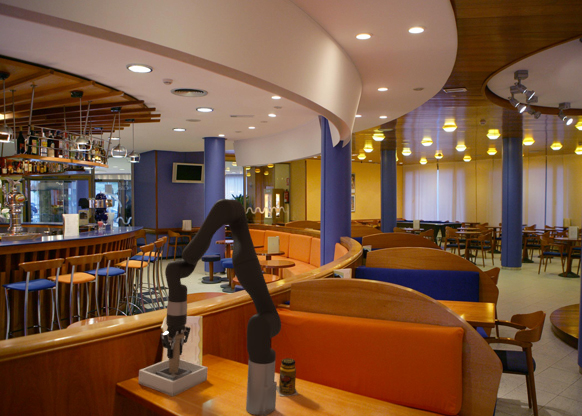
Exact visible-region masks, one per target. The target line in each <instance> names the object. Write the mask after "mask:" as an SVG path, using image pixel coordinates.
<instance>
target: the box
mask: <svg viewBox="0 0 582 416" xmlns="http://www.w3.org/2000/svg"><path fill="white" fill-rule="evenodd" d="M169 369H170V368H169V358H168V359H165V360H163V361H159V362H157V363H154V364H152V365H149V366H146V367H145V368H141V369H139V370H138V381H137V382H138V384H140V385H141V386H144V387H147V388H150V389H151V390H155V391H157V392H160V393H163V394H165V395H168V396H171V397H175V396H177V395H180V394H181V393H183V392H185V391H187V390H190V389H191V388H193V387H195V386H198V385H199V384H201V383H204V382H206V381H207V380H208V369H209V368H208V366H204V365H201V364H198V363H195V362H192V361H189V360H185V359H182V358H180V362H179V368H178V372H177V373H174V374H172V373H170V372H169Z"/></svg>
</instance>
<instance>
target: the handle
mask: <svg viewBox="0 0 582 416" xmlns="http://www.w3.org/2000/svg"><path fill="white" fill-rule="evenodd" d="M168 337H169V336H168ZM183 337H184V338H185V336H184V333H182V334H178V335H177V336H176V337H175V339H176V342H175V343H174V347H173V358H172V359H170V358H168V359H169V368H170V369H169V372H170V373H172V374H174V373H177V372H178V368H179V362H180V359H181V357H180V356H181V355H180V339H182V338H183ZM169 339H170V340H173V339H172V338H170V337H169Z"/></svg>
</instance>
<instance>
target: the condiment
mask: <svg viewBox="0 0 582 416" xmlns="http://www.w3.org/2000/svg"><path fill="white" fill-rule="evenodd" d="M296 374H297V368H296V360H295V359H293V358H291V357H290V358H288V357H287V358H283V359H281V364H280V368H279V380H278V381H279V382H278V386H277V388H276V393H278V395H279V397H289V396H291V397H292V396H297V395H300V393H299V392H298V391H297V390H296V389H297V388H296V380H297V379H296V377H297V375H296Z"/></svg>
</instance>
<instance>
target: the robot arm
mask: <svg viewBox="0 0 582 416" xmlns="http://www.w3.org/2000/svg"><path fill="white" fill-rule="evenodd" d="M224 225H226V226H227V225H228V227H229V229H230V233H231V236H232V241H233V242H232V244H233V245H232V253H231V254H232V255H231V262H232V267H233V270H234V273H235V276H236V280H237V281H238V283H239V285H240V286H241V287H242V288H243V289H244V290H245V292H246V293H247V294H248V295H249V297H250V299H251V300H252V302H253V304H254V307H255V311H256V314H254V315H252V316H251V317H250V318H249V320H248V322H247V324H246V325H247V326H246V327H247V328H246V351H247V353H248V363H247V364H248V366H247V368H248V369H247V370H248V371H247V382H246V402H245V403H246V405H245V409H246V412H248V413H249V414H251V415H254V416H268V415H269V414H272V412H274V411H276V403H277V401H276V400H277V390H276V388H277V385H278V383H277V381H275V376H276V359H277V356H276V355H277V352H276V350H275V349H273V348H271V339H272V338H274V337H276V336H277V335H279V334H280V332H281V330H282V321H281V317H280V315H279V313H278V309H277V307H276V305H275V302H274V301H273V298H272V296H271V294H270V291H269V288H268V285H267V282H266V279H265V277H264V273H263V269H262V266H261V264H260V260H259V256H258V254H257V252H256V249H255V245H254V242H253V239H252V236H251V233H250V228H249V223H248V218H247V215H246V210H245V207H244V206H243V204H242V202H240V201H239V200H236V199H232V198H231V199H230V198H229V199H228V198H221V199H218V200H217V201H216V202H215V203H214V204H213V206H212V207H211V208H210V210H209V212H208V214H207V216H206V217H205V219H204V221H203V223H202V224H201V226H200V227H199V229H198V231H197V233H196V234H195V235H194V237H193V238H192V239H191V240H190V241H189V243H188V244H187V245H186V246H185V247H184V249H183V250H182V252H181V258H182V259H178V260H172V261H170V262H168V263H167V264H166V267H165V271H164V274H165V279H166V284H167V288H168V294H167V295H168V299H167V306H166V321H165V322H166V323H165V324H166V326H167V329H166V331H165V332H164V333H160V340H161V344H162V347H163V348H165V349H167V351H166V357H167V358H168V359H169V358H170V359H172V358H173V347H174V343H175V342H176V339H175V337H176V336H177V335H178V334H182V333H184V337H183V338H182V339H180V356H183V355H182V353H183V346H184V345H185V344H186V343H188V339H189V336H190V333H191V327H189V326H186V325H187V321H188V319H187V316H188V286H187V285H185V284H183V283H182V281H181V279H185V278H188V277H189V276H191V275H192V273H193V272H194V271H195V268H196V267H197V264H198V262H199V261H200V260H201V258H202V257H203V256H204V255H205V254H206V253H207V252H208V251H209V248H210V247H211V242H212V239H213V237H214V235H215V234H216V233H217V231H218V230H220V229H221V228H222V227H223V226H224ZM168 336H169V337H170V338H172V339H173V340H170V339H169V337H168Z"/></svg>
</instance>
